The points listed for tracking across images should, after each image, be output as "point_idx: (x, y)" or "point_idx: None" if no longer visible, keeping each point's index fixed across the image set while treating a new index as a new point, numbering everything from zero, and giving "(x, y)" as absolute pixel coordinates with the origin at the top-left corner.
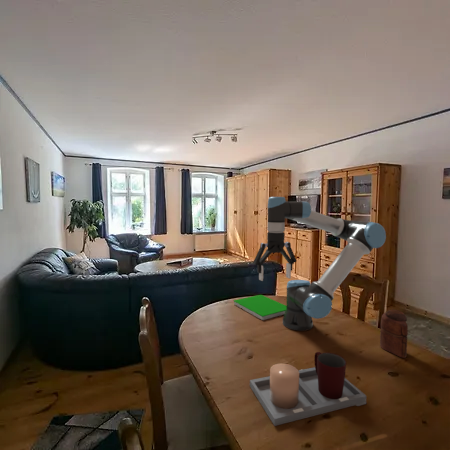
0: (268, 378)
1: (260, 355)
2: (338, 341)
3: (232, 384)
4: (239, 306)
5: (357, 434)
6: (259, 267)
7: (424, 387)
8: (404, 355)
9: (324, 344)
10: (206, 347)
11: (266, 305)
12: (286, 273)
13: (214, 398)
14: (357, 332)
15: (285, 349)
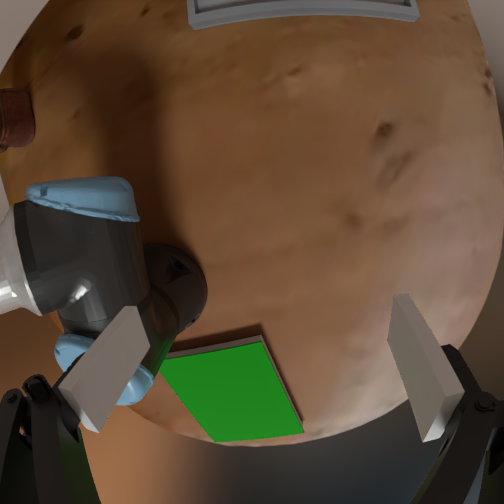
0: (376, 4)
1: (353, 129)
2: (96, 167)
3: (445, 45)
4: (295, 411)
5: None
6: (471, 385)
7: (62, 4)
8: (22, 90)
9: (136, 155)
10: (470, 214)
11: (221, 394)
12: (136, 362)
13: (476, 29)
14: None
15: (263, 143)
